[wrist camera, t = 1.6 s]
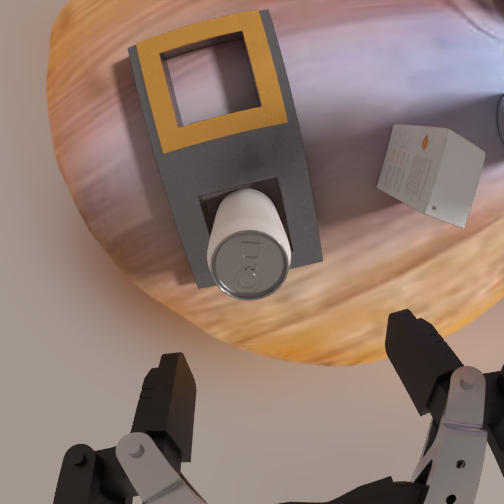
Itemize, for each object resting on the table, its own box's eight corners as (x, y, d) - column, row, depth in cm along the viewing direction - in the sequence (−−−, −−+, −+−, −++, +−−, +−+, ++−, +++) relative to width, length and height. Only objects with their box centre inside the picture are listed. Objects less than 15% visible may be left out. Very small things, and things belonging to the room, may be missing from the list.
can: (215, 242, 33) (203, 302, 22) (218, 185, 31) (205, 220, 20) (272, 246, 34) (287, 307, 23) (280, 190, 31) (301, 228, 20)
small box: (411, 200, 32) (463, 231, 22) (374, 187, 31) (423, 216, 22) (429, 139, 29) (488, 152, 19) (392, 122, 28) (449, 127, 18)
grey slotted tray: (317, 251, 34) (323, 262, 32) (201, 277, 35) (198, 290, 32) (266, 17, 23) (268, 8, 21) (135, 53, 24) (126, 47, 22)
